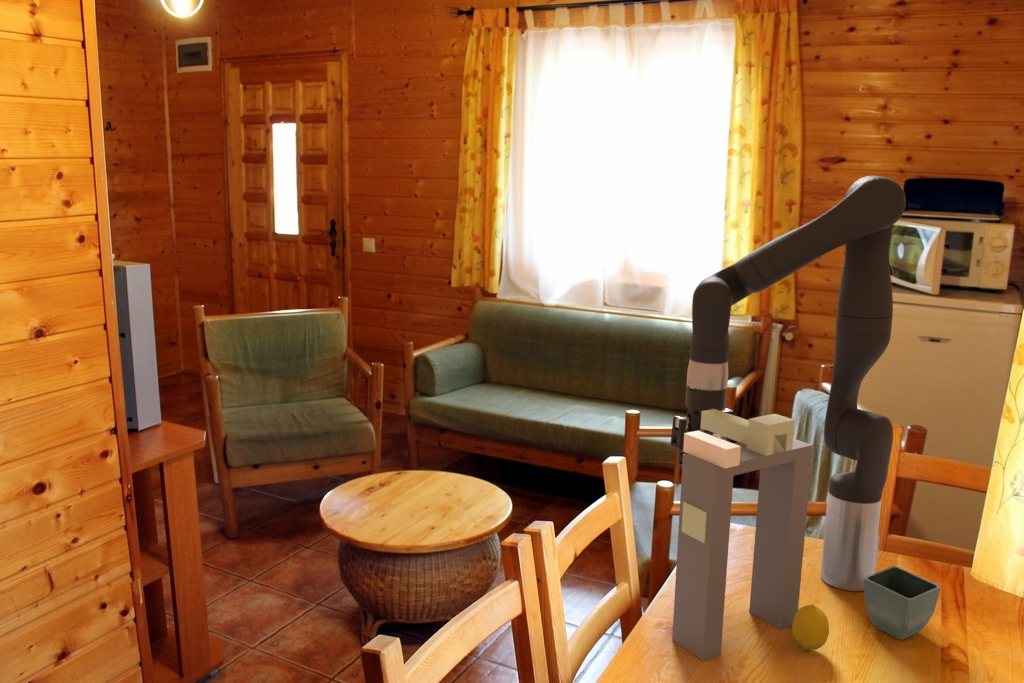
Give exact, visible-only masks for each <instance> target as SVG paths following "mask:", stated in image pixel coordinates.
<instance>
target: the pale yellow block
mask: <svg viewBox="0 0 1024 683" xmlns="http://www.w3.org/2000/svg"><path fill="white" fill-rule="evenodd" d="M795 420H796V419H793V418H792V417H791V418H790V417H787V416H784V415H780V414H778V413H771V414H767V415H761V416H760V415H759V416H756V417H751V418H749V419H745V418H743V417H740V416H736V415H735V416H734V415H731V414H728V413H725V412H722V411H719V410H716V409H711V410H705V411H702V412H701V428H702V429H705V430H708V431H711V432H713V433H716V434H719V435H721V436H724V437H727V438H730V439H732V440H731V441H736V442H737V443H738V442H741V443H743V444H746V445H747V449H749V450H752V451H755V452H757V453H760V454H763V455H765V456H768V455H772V454H776V453H781V452H785V451H789V450H792V446H793V438H794V434H795V432H794V431H795V423H796V422H795Z"/></svg>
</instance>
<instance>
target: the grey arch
mask: <svg viewBox="0 0 1024 683" xmlns="http://www.w3.org/2000/svg"><path fill="white" fill-rule="evenodd" d="M733 444H736V445H739V446H741V449H740V463H739V465H738V466H734V467H730V468H722V467H720V466H718V465H715V464H713V463H710V462H708V461H705V460H703V459H700V458H698V457H696V456H693V455H691V454H688V453H686V454H683V461H682V469H681V481H680V482H681V483H680V499H679V500H680V501H679V515H678V516H679V517H678V529H677V530H678V534H677V551H676V567H675V568H676V569H675V587H674V602H673V617H672V618H673V620H672V621H673V622H672V633H671V635H672V637H671V638H672V639H671V641H673V642H675V643H676V644H678V645H679V646H680V647H682V648H683V649H685V650H686V651H687V652H689V653H690V654H692V655H693V656H695V657H696V658H698V659H699V660H701V661H702V662H704V661H707V660H708V659H711V658H714V657H716V656H719V655H722V654H721V653H722V646H723V645H722V644H723V642H722V641H723V629H724V615H725V600H726V599H725V598H726V588H727V587H726V586H727V571H728V557H729V546H730V545H729V543H730V529H731V517H732V516H731V514H732V503H733V502H732V500H733V488H734V476H738V475H741V474H746V473H750V472H755V471H759V470H760V471H759V481H758V496H757V504H756V505H757V507H756V518H755V532H754V543H753V544H754V546H753V559H752V572H751V573H752V574H751V582H750V583H751V585H750V597H749V598H750V599H749V607H748V608H749V609H748V611H749V613H751V614H752V615H754V616H756V617H758V618H759V619H761V620H762V621H765V622H766V623H768V624H769V625H771V626H772V627H775V628H776V629H778V630H780V631H782V630H784V629H787V628H790V627H792V625H793V619H794V616H795V614H796V612H797V611H798V610H799V602H800V592H801V591H800V590H801V582H802V571H803V557H804V550H805V549H804V548H805V537H806V526H807V515H808V505H809V504H808V502H809V493H810V481H811V470H812V469H811V468H812V461H813V460H812V458H813V448H814V445H813V444H811V443H808V442H805V441H803V440H800V439H797V438H794V437H793V446H792V450H789V451H785V452H781V453H776V454H772V455H768V456H765V455H763V454H760V453H757V452H755V451H752V450H749V449H747V445H746V444H743V443H741V442H738V441H737V442H733Z"/></svg>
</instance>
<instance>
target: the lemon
mask: <svg viewBox="0 0 1024 683" xmlns="http://www.w3.org/2000/svg"><path fill="white" fill-rule="evenodd" d="M791 628H792V629H791V630H792V635H793V637H794V640H795V641H796V643H797V644H798V645H799V646H801V648H803V649H805V650H806V651H808V652H811V651H815V650H818V649H821V648H822V647H823V646H824V645H825V644H826V643H827V640H828V638H829V634H830V624H829V620H828V617H827V615H826V613H825V612H824V611H823V609H821V608H820V607H818V606H816V605H815V604H808V605H807V604H806V605H804V606H802V607H799V608H798V611H797V612H796V614H795V616H794V619H793V625H792V626H791Z"/></svg>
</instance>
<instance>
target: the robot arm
mask: <svg viewBox="0 0 1024 683" xmlns="http://www.w3.org/2000/svg"><path fill="white" fill-rule="evenodd" d="M906 205H907V197H906V193H905V191H904V189H903V188H902V187H901V185H900V184H898V182H897V181H895V180H893V179H891V178H889V177H887V176H880V175H866V176H864V177H861V178H858V179H856V181H854V182H853V183H852V184H851V185H850V187H849V188H848V189H847V191H846V193H845V195H844V198H843V199H842V200H841V201H839V202H838V203H837V204H835V205H834V206H833V207H832V208H830V209H829V210H827V211H826V212H825V213H823V214H821V215H820V216H817V217H816V218H815V219H812V220H810V221H809V222H807V223H805V224H803V225H801V226H799V227H797V228H795V229H793V230H790V231H788V232H786V233H784V234H782V235H780V236H778V237H776V238H774V239H772V240H770V241H769V242H767V243H765V244H763V245H762V246H759V247H758V248H756V249H755V250H753V251H752V252H750V253H748V254H746V255H745V256H743V257H742V258H741V259H739V260H738V261H736V262H735V263H733V264H731V265H729V266H727V267H725V268H723V269H721V270H719V271H717V272H714V273H713V274H712V275H710V276H708V277H706V278H704V279H703V280H701V281H700V282H699V283H698V285H697V286H696V288H695V290H694V291H693V294H692V304H691V305H692V306H691V308H692V309H691V320H692V322H691V324H692V325H691V326H692V328H691V329H692V333H691V339H690V346H689V347H690V350H689V360H688V361H689V362H688V366H687V373H686V386H685V387H686V390H685V406H686V409H687V413H686V415H685V416H678V415H674V417H673V418H672V426H671V435H670V447H671V448H675V449H677V450H678V460H677V461H678V466H679V468H680V469H681V470H682V461H683V454H686V452H683V447H684V433H688V432H693V431H701V432H704V433H706V434H709V435H712V436H714V437H717V438H720V439H722V440H725V441H728V442H730V441H733V440H732V439H730V438H727V437H724V436H721V435H719V434H716V433H713V432H711V431H708V430H705V429H702V428H701V412H702V411H705V410H711V409H716V410H719V411H722V412H725V413H728V414H731V415H734V416H736V412H735V410H732V409H729V408H727V396H728V386H729V385H728V383H729V382H728V381H729V353H730V352H729V350H730V335H729V328H730V322H731V314H732V313H731V312H732V307H733V306H734V305H735V304H737V303H739V302H741V301H742V300H745V298H747V297H749V296H751V295H752V294H757V293H760V292H763V291H765V290H766V289H768V288H770V287H772V286H774V285H775V284H777V283H779V282H781V281H782V280H784V279H785V278H787V277H788V276H791V275H792V274H794V273H796V272H797V271H799V270H800V269H802V268H804V267H805V266H808V265H809V264H810V263H812V262H814V261H815V260H818V259H819V258H821V257H822V256H824V255H826V254H828V253H830V252H832V251H834V250H836V249H838V248H840V247H842V246H844V245H845V247H844V248H845V250H844V261H843V265H842V266H843V268H842V271H841V272H842V273H841V278H840V285H839V290H838V291H839V292H838V300H837V308H836V316H835V317H836V320H835V336H834V337H835V339H834V340H835V341H834V355H833V364H832V365H833V366H832V368H833V369H832V375H831V376H832V377H831V383H830V388H829V389H830V390H829V395H828V399H827V400H828V401H827V406H826V413H825V418H824V425H823V426H824V427H823V440H824V445H825V446H826V448H827V449H828V451H829V452H831V453H833V454H836V455H838V456H842V457H843V458H848V459H850V460H854V461H856V465H855V470H854V471H843V472H841V471H840V472H837V473H835V474H833V475H831V476H830V478H829V481H828V490H827V491H828V492H827V499H826V502H827V503H826V511H825V522H824V523H825V524H824V533H823V543H822V544H823V545H822V555H821V563H820V564H821V566H820V575H819V576H820V578H821V580H822V581H823V582H824V583H826V584H827V585H830V586H831V587H834V588H837V589H840V590H844V591H851V592H861V591H863V592H864V578H865V577H866V576H869V575H872V574H874V573H877V564H878V556H879V549H880V548H879V546H880V540H881V539H880V537H881V536H880V533H879V525H880V518H881V507H882V506H881V505H882V498H883V491H884V488H885V485H886V482H887V479H888V472H889V465H890V460H891V459H890V458H891V454H892V450H893V449H892V448H893V442H894V428H893V424H892V421H891V420H890V418H888V416H887V417H886V416H885V415H882V414H879V413H875V412H872V411H869V410H863V409H861V408H858V399H859V392H860V388H861V385H862V383H863V381H864V379H865V377H866V375H868V373H869V371H870V370H871V369H872V368H873V366H874V365H875V364H876V363H877V362H878V360H880V358H881V356H882V355H883V354H884V352H885V351H886V350H887V348H888V346H889V344H890V340H891V336H892V326H893V315H894V313H893V312H894V300H893V297H894V296H893V285H892V276H891V268H890V249H891V240H892V235H893V234H892V233H893V230H894V229H893V228H894V225H895V224H896V223H897V222H898V221H899V220H900V218H902V216H903V214H904V212H905V210H906Z"/></svg>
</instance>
